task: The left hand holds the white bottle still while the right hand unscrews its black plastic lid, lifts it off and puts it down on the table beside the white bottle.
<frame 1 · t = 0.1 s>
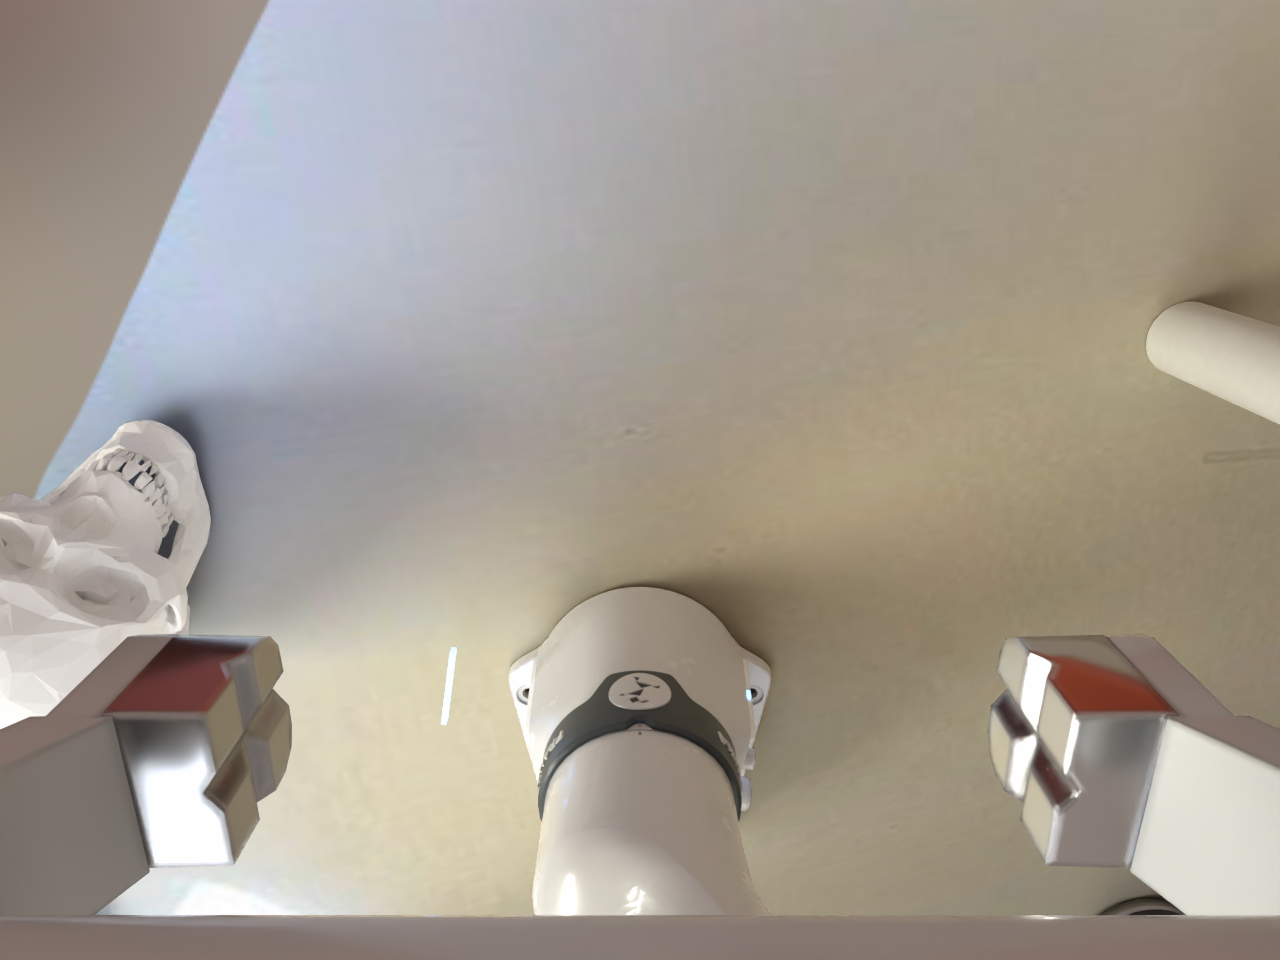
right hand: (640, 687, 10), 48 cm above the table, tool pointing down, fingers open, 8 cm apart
skull: (128, 550, 63), on the table
white bottle: (1182, 337, 57), on the table
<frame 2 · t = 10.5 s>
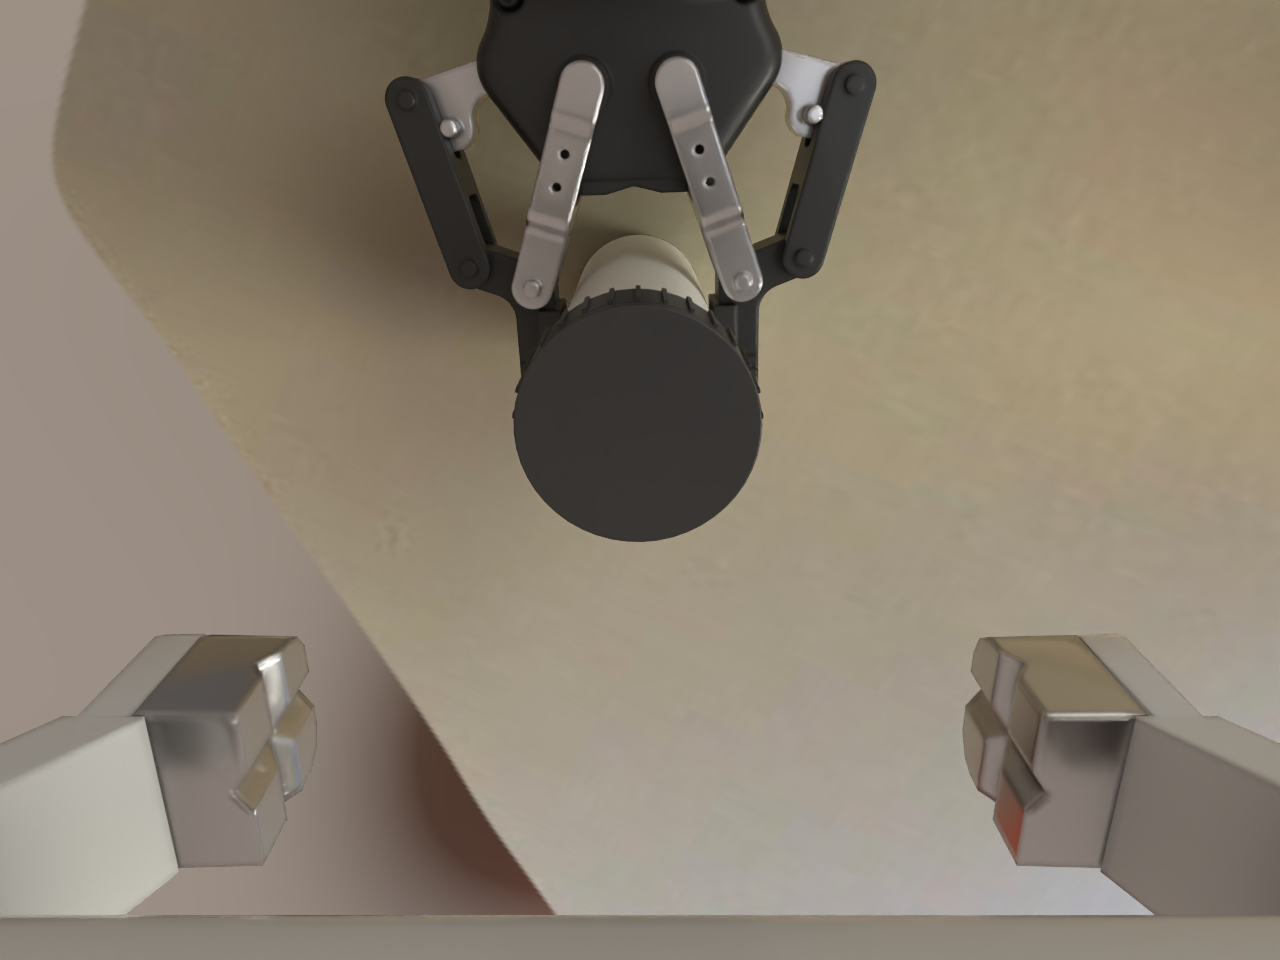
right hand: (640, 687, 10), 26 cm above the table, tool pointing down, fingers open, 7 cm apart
white bottle: (638, 296, 35), on the table, touching left hand
lid: (637, 424, 20), point 16 cm above the table, screwed on, not yet turned
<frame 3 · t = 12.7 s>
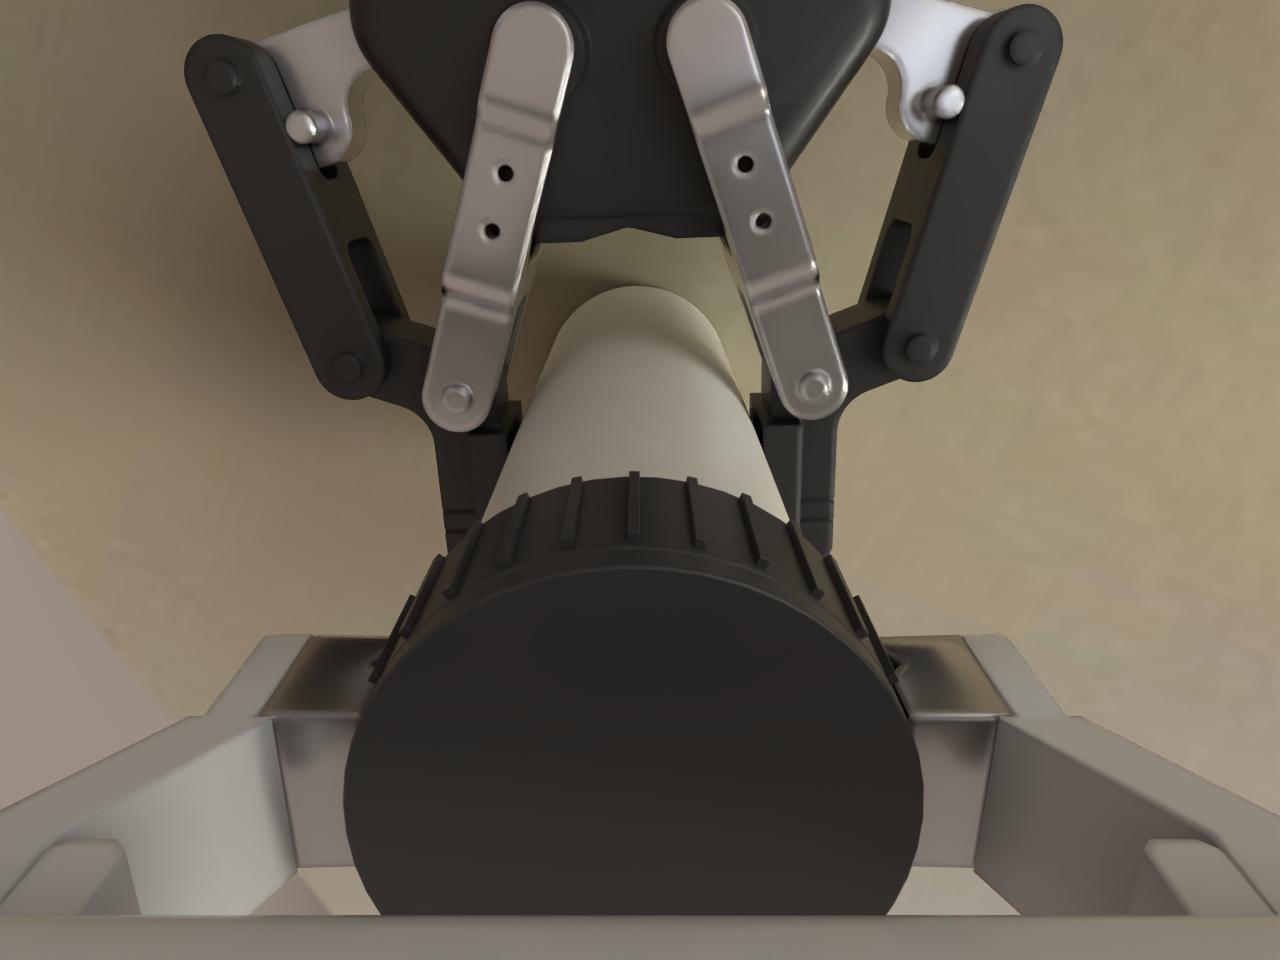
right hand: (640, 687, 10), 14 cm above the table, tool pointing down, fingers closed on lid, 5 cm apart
white bottle: (637, 374, 24), on the table, touching left hand
lid: (633, 800, 9), point 16 cm above the table, screwed on, not yet turned, touching right hand
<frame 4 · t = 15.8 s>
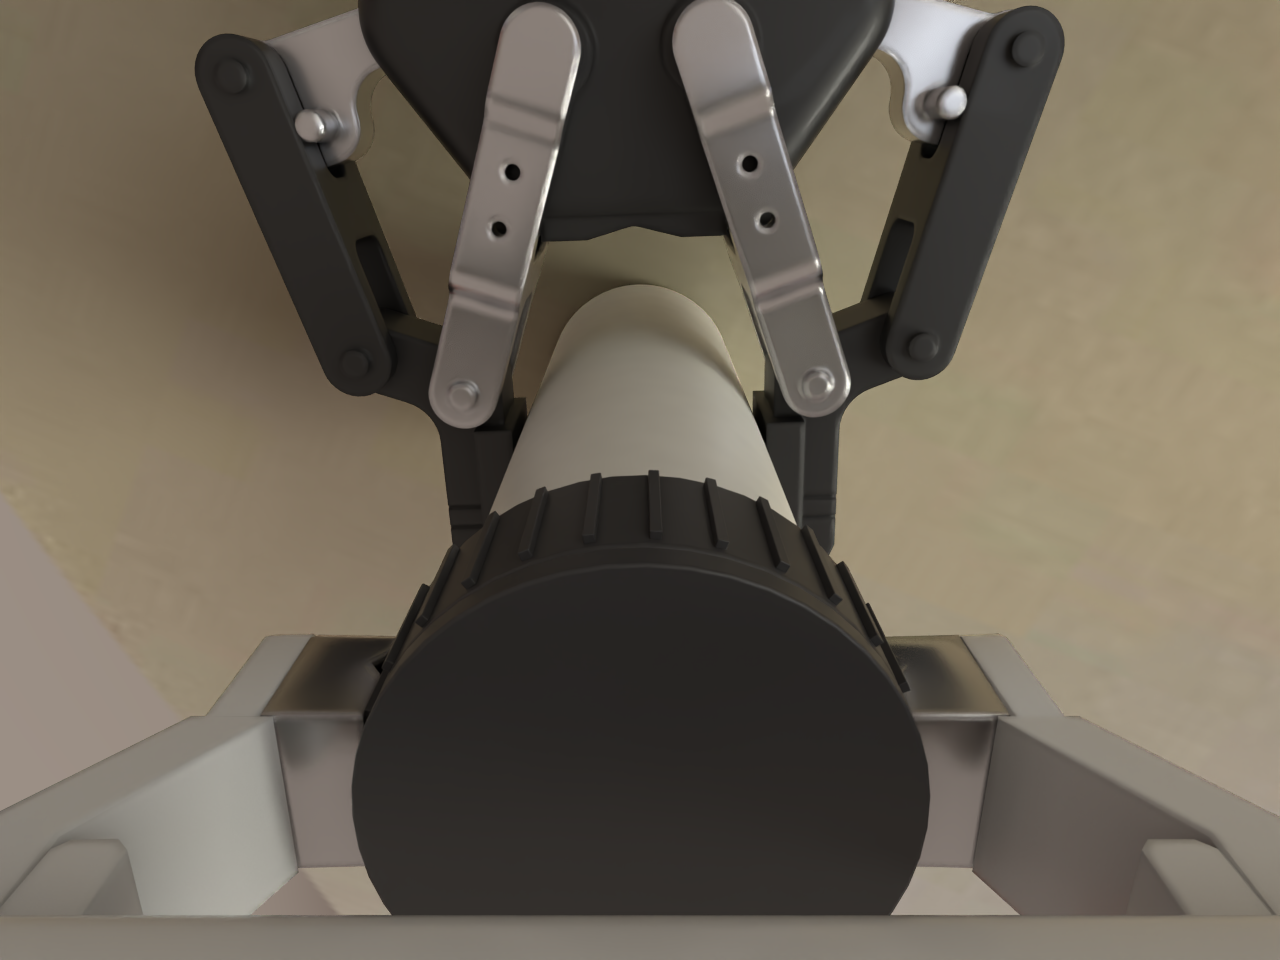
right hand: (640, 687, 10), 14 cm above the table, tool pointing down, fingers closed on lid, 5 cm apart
white bottle: (640, 372, 24), on the table, touching left hand
lid: (640, 798, 9), point 16 cm above the table, turned 72° so far, risen 0.1 cm, still on its thread, touching right hand
when the right hand's fingers open (2 cm above the table, at t = 32.9 s): lid drops 2 cm, point 2 cm above the table.
when the left hand's fingers open (7 cm above the table, at t = 33.9 s): white bottle stays where it is, on the table.
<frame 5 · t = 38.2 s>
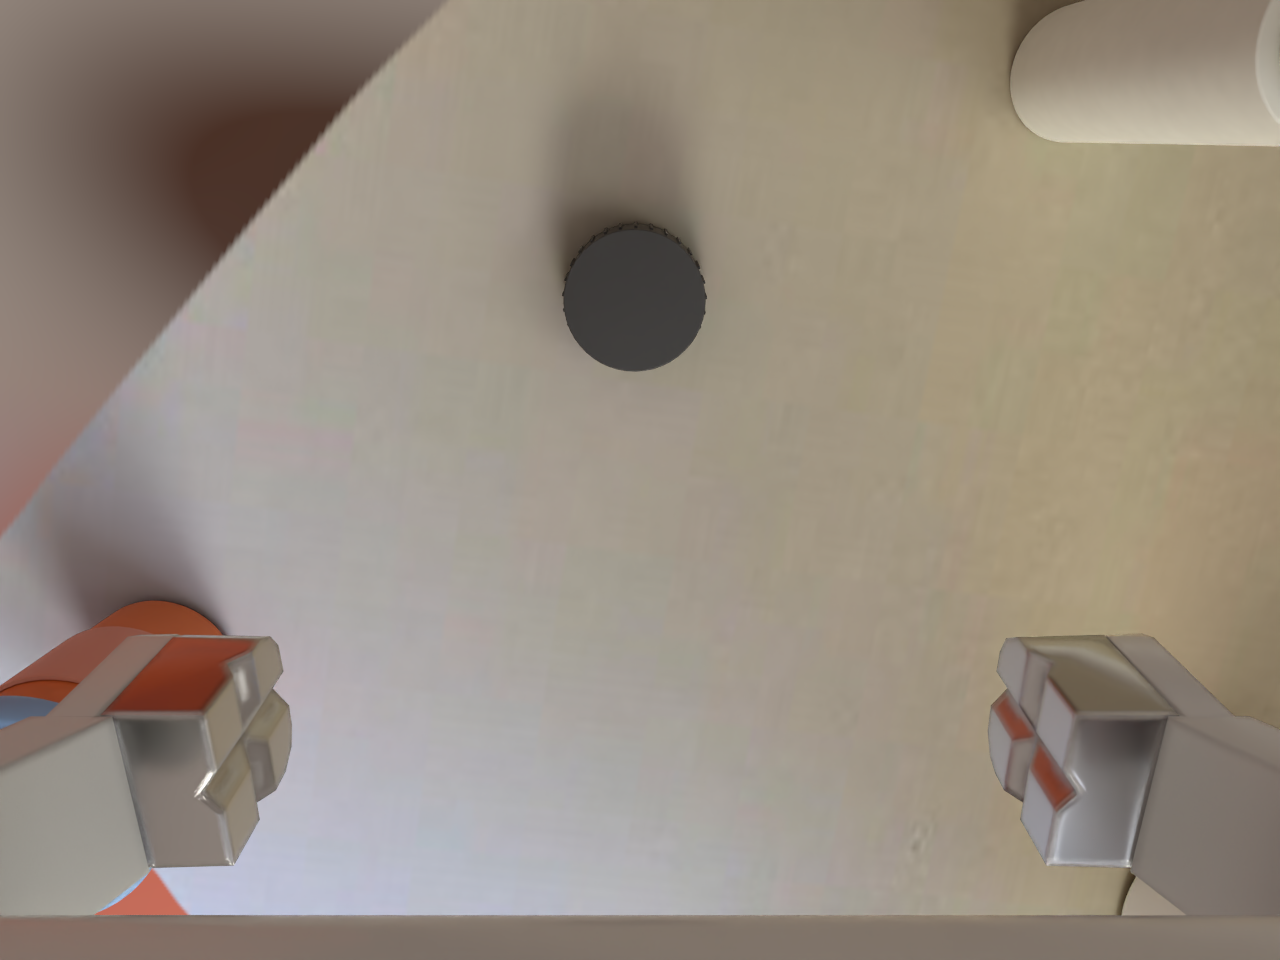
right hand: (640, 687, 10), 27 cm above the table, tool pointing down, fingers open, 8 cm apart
white bottle: (1073, 74, 33), on the table
cup with straw: (170, 656, 42), on the table
lid: (634, 300, 34), point 2 cm above the table, off its thread
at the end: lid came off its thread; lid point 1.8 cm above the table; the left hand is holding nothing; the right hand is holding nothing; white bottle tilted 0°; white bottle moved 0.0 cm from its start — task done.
